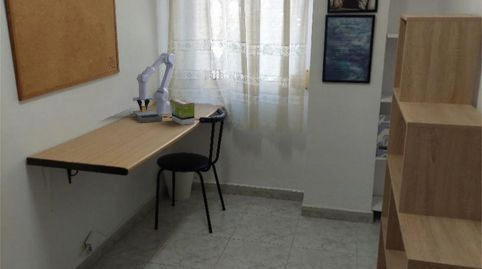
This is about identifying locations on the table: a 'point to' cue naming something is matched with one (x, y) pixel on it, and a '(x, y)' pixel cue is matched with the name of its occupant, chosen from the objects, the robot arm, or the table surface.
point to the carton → (149, 118)
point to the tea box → (183, 111)
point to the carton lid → (145, 112)
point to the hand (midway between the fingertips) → (143, 110)
